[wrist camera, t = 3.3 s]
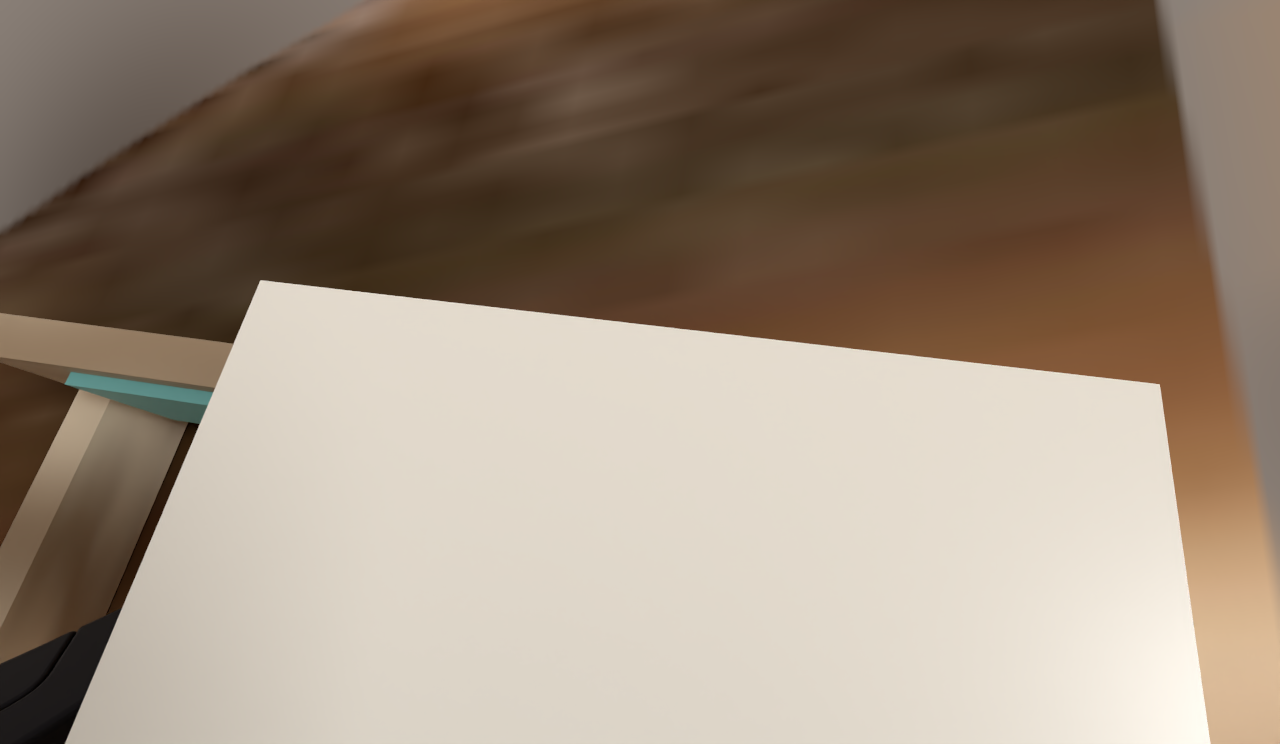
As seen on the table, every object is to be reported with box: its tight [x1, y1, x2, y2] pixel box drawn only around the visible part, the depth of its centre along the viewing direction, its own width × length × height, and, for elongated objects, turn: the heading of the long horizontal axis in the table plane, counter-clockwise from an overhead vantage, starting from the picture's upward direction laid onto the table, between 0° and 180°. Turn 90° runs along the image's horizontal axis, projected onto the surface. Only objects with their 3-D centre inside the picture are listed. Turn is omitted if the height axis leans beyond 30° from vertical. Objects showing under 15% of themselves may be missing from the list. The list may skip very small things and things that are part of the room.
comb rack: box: [0, 313, 233, 664], centre depth 13 cm, size 10×21×5 cm, turn 81°
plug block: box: [65, 280, 1210, 744], centre depth 9 cm, size 5×5×13 cm
